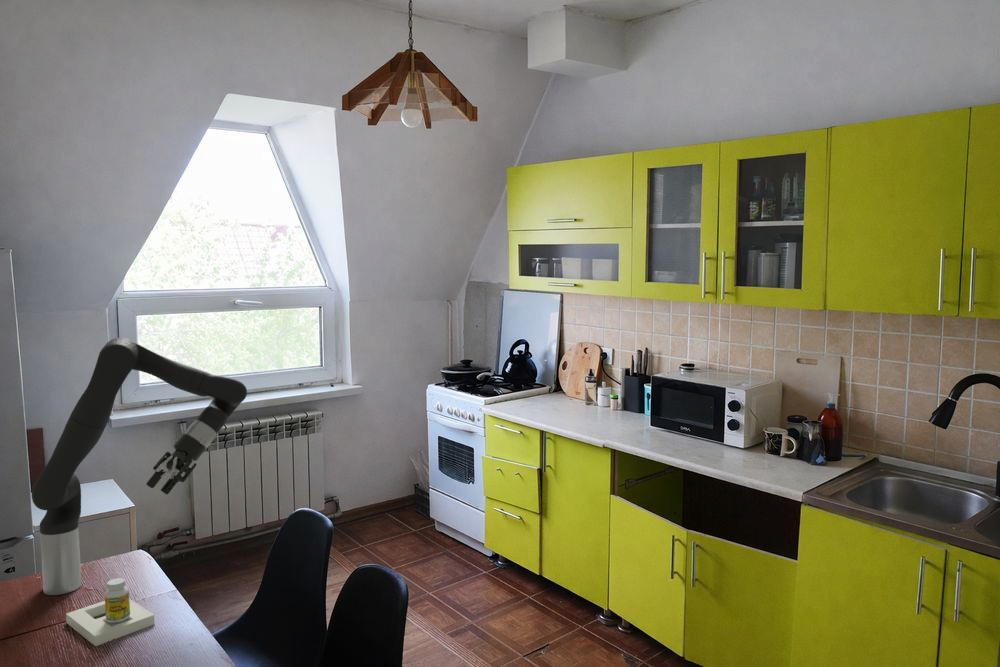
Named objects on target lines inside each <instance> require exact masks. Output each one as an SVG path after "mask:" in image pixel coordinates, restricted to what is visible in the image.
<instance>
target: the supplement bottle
mask: <svg viewBox="0 0 1000 667" xmlns="http://www.w3.org/2000/svg"><path fill="white" fill-rule="evenodd" d="M106 589H107V590H105V593H104V601H105V609H106V613H105V616H106V620H107V622H110V623H117V622H121V621H124V620H126V619H127V618H129V616H130V602H129V599H130V590H129V588H128V586H126V579H125V578H121V577H120V578H118V577H117V578H113V579H111V580H108V581H107V583H106Z"/></svg>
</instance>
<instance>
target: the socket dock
mask: <svg viewBox="0 0 1000 667" xmlns="http://www.w3.org/2000/svg"><path fill="white" fill-rule="evenodd" d="M129 602H130V616H129V618H127V619H126V620H124V621H121V622H117V623H110V622H107V620H106V615H105V614H106V609H105V600H103V601H100V602H97V603H94V604H90V605H88V606H85V607H82V608H79V609H78V608H77V609H75V610H73V611H69V612H67V613H65V617H66V624H67V625H68V626H70V628H73V630H75V632H77V633H78V634H80V635H81V636H82V637H83V638H85V639H86V640H87V641H88V642H89V643H91V644H92V645H93V646H94V647H97V646H101V645H103V644H106V643H109V642H111V641H114V640H116V639H119V638H123V637H124V636H127V635H130V634H132V633H135V632H138V631H140V630H143V629H146V628H148V627H151V626H154V625H155V624H156V623H155V613H152V612H150V610H147V609H146V608H145V607H143V606H141V605H140V604H139V603H137V602H135V601H134V600H132V599H131V598H129ZM102 615H104V616H102ZM99 616H101V617H99ZM95 617H98V618H95ZM113 639H114V640H113ZM108 641H109V642H108Z"/></svg>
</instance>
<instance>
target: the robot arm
mask: <svg viewBox="0 0 1000 667" xmlns="http://www.w3.org/2000/svg"><path fill="white" fill-rule="evenodd" d="M133 370H134V371H139V372H142V373H145V374H148V375H151V376H153V377H155V378H158V379H159V380H161V381H163V382H165V383H167V384H169V385H171V386H172V387H174V388H176V389H179V390H181V391H184V392H186V393H190V394H193V395H196V396H199V397H204V398H205V397H210V398H213V399H212V400H211V401H210V403H209V404H208V405H207V407H205V408H204V409H203V410H202V412H201V413H199V415H198V417H197V418H196V419H195V420H194V421H193V422H192V423H191V424H190V425H189V426H188V427H187V428H186V430H185V431H183V433H182V434H181V436H180V437H179V438H178V439H177V441H176V442H175V443H174V445H173V448H174V452H173V453H171V452H170V451H166V452H165V453H164V454H163V455H162V456H161V458H160V459H159V460H158V461H157V463H156V464H154V465H153V468H152V469H153V470H154V473H153V474H152V476H150V477H149V479H148V481H146V483H145V484H146V486H147V487H149V488H150V489H153V488H155V487H156V486H157V484H158V483H159V482H160V481H161V479H162V477H164V476H165V475H166V474H171V476H170V478H168V479H167V481H166V482H165V484H163V486H162V487H161V488H160V492H161V493H163V494H164V495H169V493H170V492H171V491H172V489H173V488H174V487H175V486H176V485H177V484H179V483H184V482H186V480H187V479H188V478H189V476H190V474H191V473H192V472H193V470H194V469H195V468H196V466H197V463H196V461H198V460H199V459H200V458H201V457H202V455H203V454H204V452H205V451H206V450H207V449H208V448H209V446H210V445H211V443H212V442H213V440H215V437H216V436H217V435H218V433H219V432H220V431H221V430H222V428H223V427H224V425H225V424H226V423H227V421H228V419H229V417H230V416H231V415H232V414H233V413H234V412H235V410H236V409H237V408H238V407H239V406H240V404H241V403H243V401H244V400H246V398H247V395H248V390H247V386H245V384H244V383H243V382H241V381H240V380H237V379H234V378H230V377H228V376H227V377H226V376H222V375H216V374H212V373H210V372H207V371H204V370H202V369H198V368H195V367H192V366H190V365H187V364H184V363H181V362H178V361H175V360H173V359H170V358H169V357H165V356H163V355H161V354H159V353H157V352H155V351H152V350H151V349H148V348H146V347H144V346H142V345H141V344H139V343H137V342H135V341H133V340H131V339H129V338H126V337H115V338H113V339H109V341H108V342H106V343H105V345H104V346H103V347H102V348H101V350H100V351H99V353H98V357H97V361H96V363H95V367H94V370H93V372H92V375H91V377H90V380H89V383H88V385H87V386H86V388H85V390H84V391H83V393H82V394H81V396H80V398H79V399H78V400H77V403H76V404H75V406H74V408H73V410H72V411H71V413H70V415H69V418H68V420H67V421H66V424H65V425H64V428H63V431H62V433H61V436H60V437H59V439H58V441H57V444H56V446H55V448H54V450H53V453H52V455H51V456H50V459H49V460H48V462H47V464H46V465H45V467H44V468H43V471H42V472H41V474H40V475H39V477H38V478H37V480H36V481H35V483H34V485H33V487H32V490H31V499H32V503H33V504H34V506H35V507H36V508H37V509H39V510H41V511H45V512H46V513H45V515H44V517H43V518H42V519H41V521H40V523H39V535H40V536H39V537H40V553H41V573H42V574H41V575H42V590H43V591H42V592H43V593H44V595H48V596H59V595H65V594H68V593H71V592H74V591H76V590H78V589H79V588H80V587H81V586H82V571H81V570H82V569H81V551H80V550H81V549H80V532H79V531H80V530H79V529H80V528H79V519H80V518H81V513H82V488H81V487H82V486H81V482H80V480H79V478H78V476H77V475H76V474H75V472H76V471H77V469H78V467H79V466H80V465H81V463H82V462H83V461H84V460H85V458H87V456H89V454H90V453H91V451H92V450H93V449H94V448H95V446H96V445H97V444H98V442H99V441H100V439H101V438H102V435H103V433H104V430H105V428H106V426H107V425H108V423H109V420H110V417H111V414H112V411H113V407H114V404H115V399H116V397H117V394H118V393H119V390H120V389H121V388H122V385H123V384H124V383H125V380H126V379H127V377H128V376H129V374H130V373H131V371H133Z"/></svg>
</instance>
